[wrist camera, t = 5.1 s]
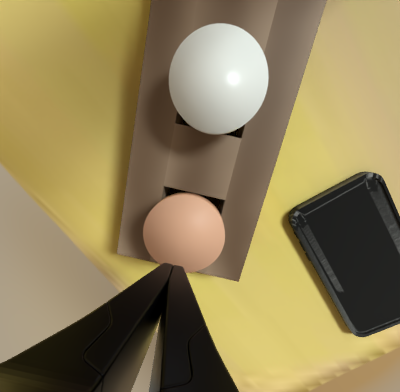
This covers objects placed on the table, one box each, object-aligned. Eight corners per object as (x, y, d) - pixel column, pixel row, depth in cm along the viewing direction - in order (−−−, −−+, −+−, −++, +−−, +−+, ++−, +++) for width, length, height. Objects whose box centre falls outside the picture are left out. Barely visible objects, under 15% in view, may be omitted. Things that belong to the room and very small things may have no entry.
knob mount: (339, -93, 13) (378, -165, 10) (234, 261, 19) (238, 281, 16) (187, -128, 13) (180, -212, 10) (131, 237, 19) (116, 253, 16)
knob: (228, 193, 16) (234, 207, 12) (213, 251, 17) (214, 280, 13) (164, 178, 16) (150, 187, 12) (153, 237, 17) (137, 262, 13)
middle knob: (262, 67, 13) (282, 36, 10) (241, 144, 15) (252, 142, 11) (187, 50, 13) (179, 12, 10) (173, 128, 15) (161, 121, 11)
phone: (378, 167, 15) (440, 308, 18) (367, 166, 17) (427, 299, 19) (285, 216, 17) (355, 341, 19) (281, 211, 18) (347, 331, 20)
